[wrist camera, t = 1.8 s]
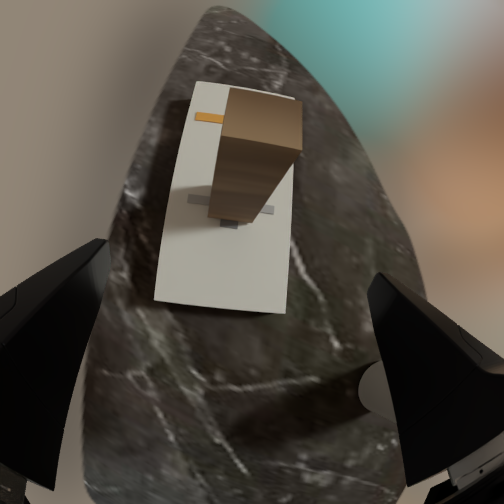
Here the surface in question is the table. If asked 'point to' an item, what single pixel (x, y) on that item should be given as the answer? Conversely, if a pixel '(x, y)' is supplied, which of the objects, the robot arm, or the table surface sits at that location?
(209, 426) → the table surface
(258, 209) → the lever
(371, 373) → the beverage can
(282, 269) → the fader console
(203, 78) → the table surface
